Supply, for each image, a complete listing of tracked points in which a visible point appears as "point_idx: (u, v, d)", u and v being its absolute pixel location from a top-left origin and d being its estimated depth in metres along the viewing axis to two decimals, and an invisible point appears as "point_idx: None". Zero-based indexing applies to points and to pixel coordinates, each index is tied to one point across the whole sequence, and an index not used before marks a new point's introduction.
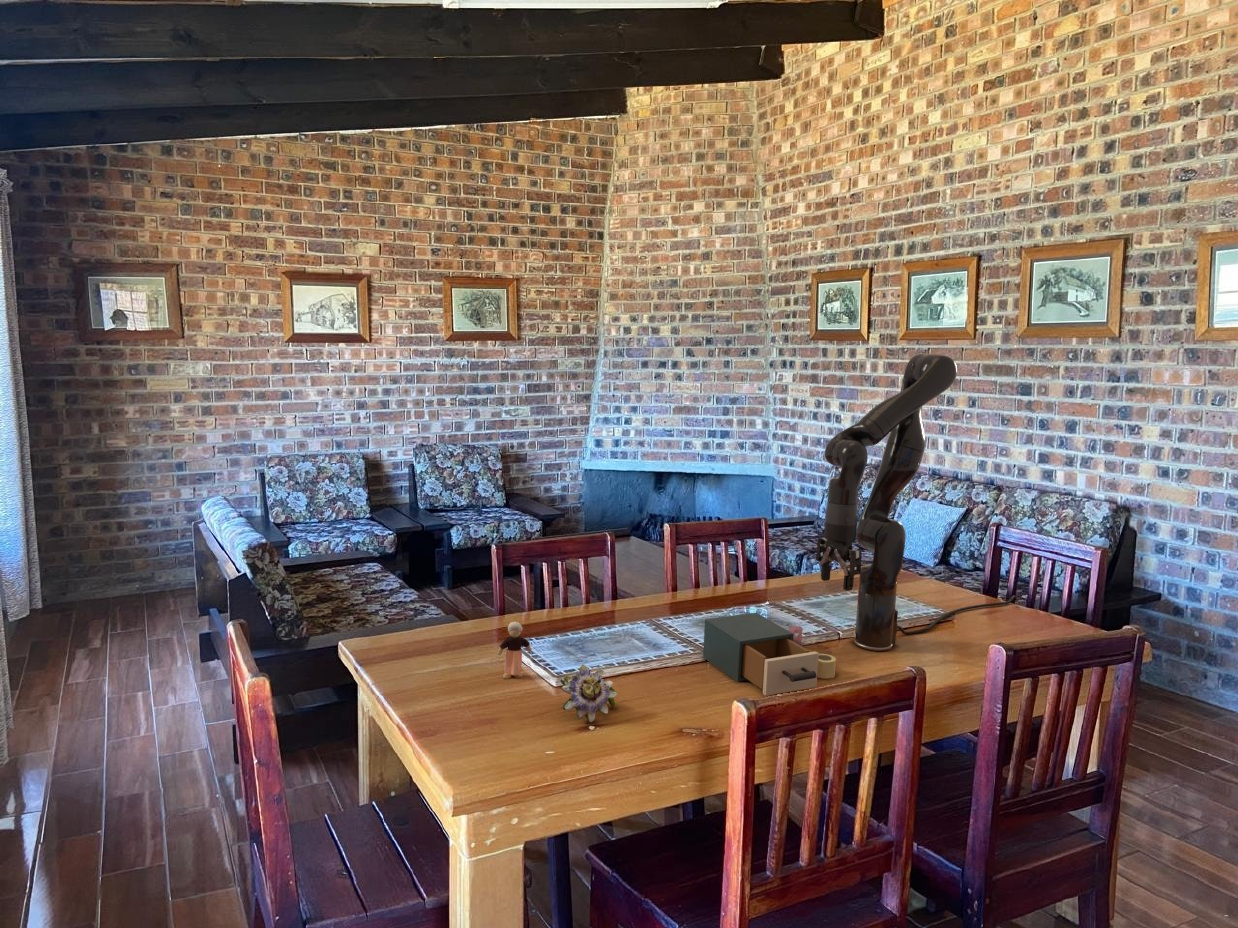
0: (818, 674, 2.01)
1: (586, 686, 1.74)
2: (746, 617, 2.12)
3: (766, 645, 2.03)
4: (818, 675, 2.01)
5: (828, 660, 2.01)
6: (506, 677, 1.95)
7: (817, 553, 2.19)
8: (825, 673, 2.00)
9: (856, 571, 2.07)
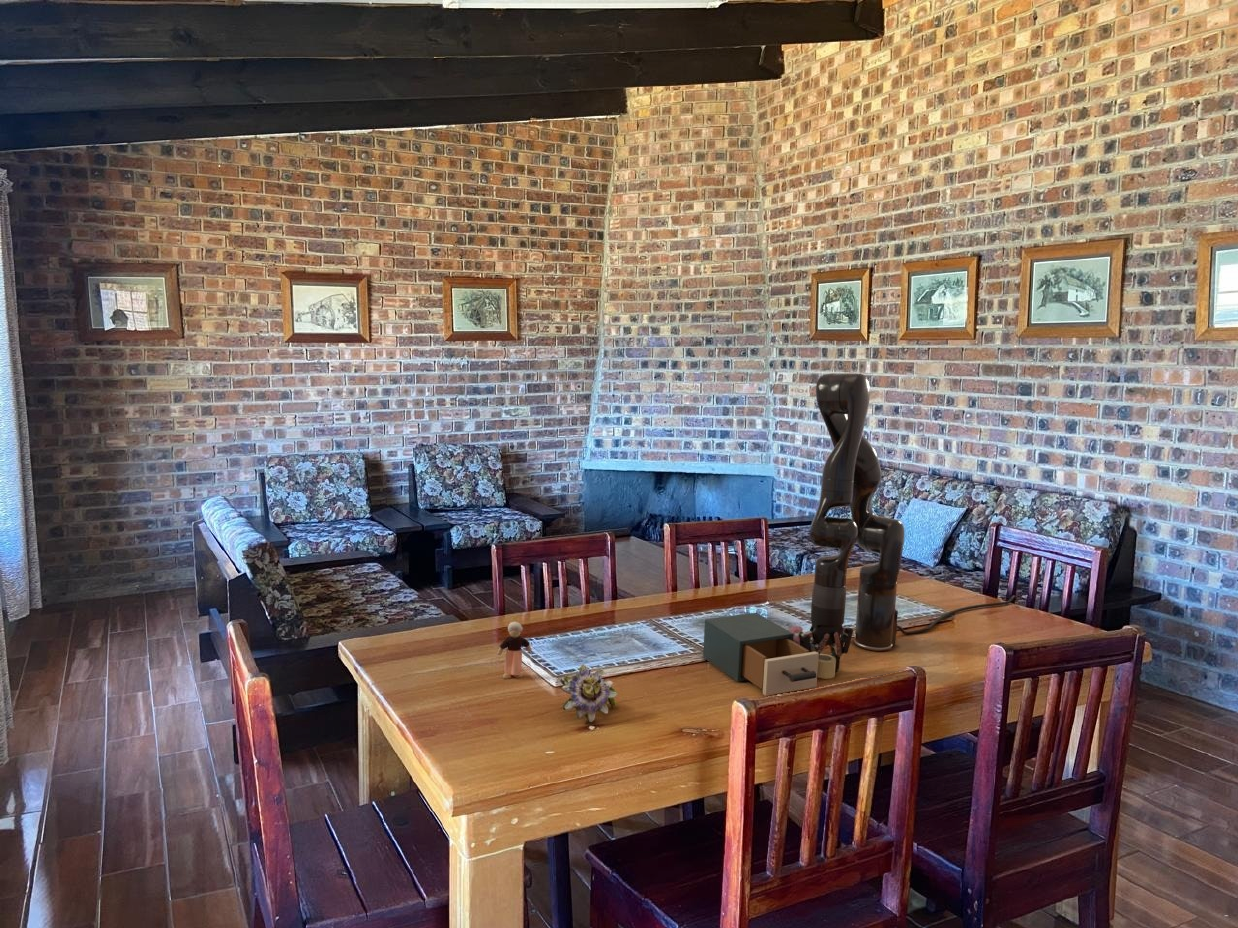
0: (818, 674, 2.01)
1: (586, 686, 1.74)
2: (746, 617, 2.12)
3: (766, 645, 2.03)
4: (818, 675, 2.01)
5: (828, 660, 2.01)
6: (506, 677, 1.95)
7: None
8: (825, 673, 2.00)
9: None
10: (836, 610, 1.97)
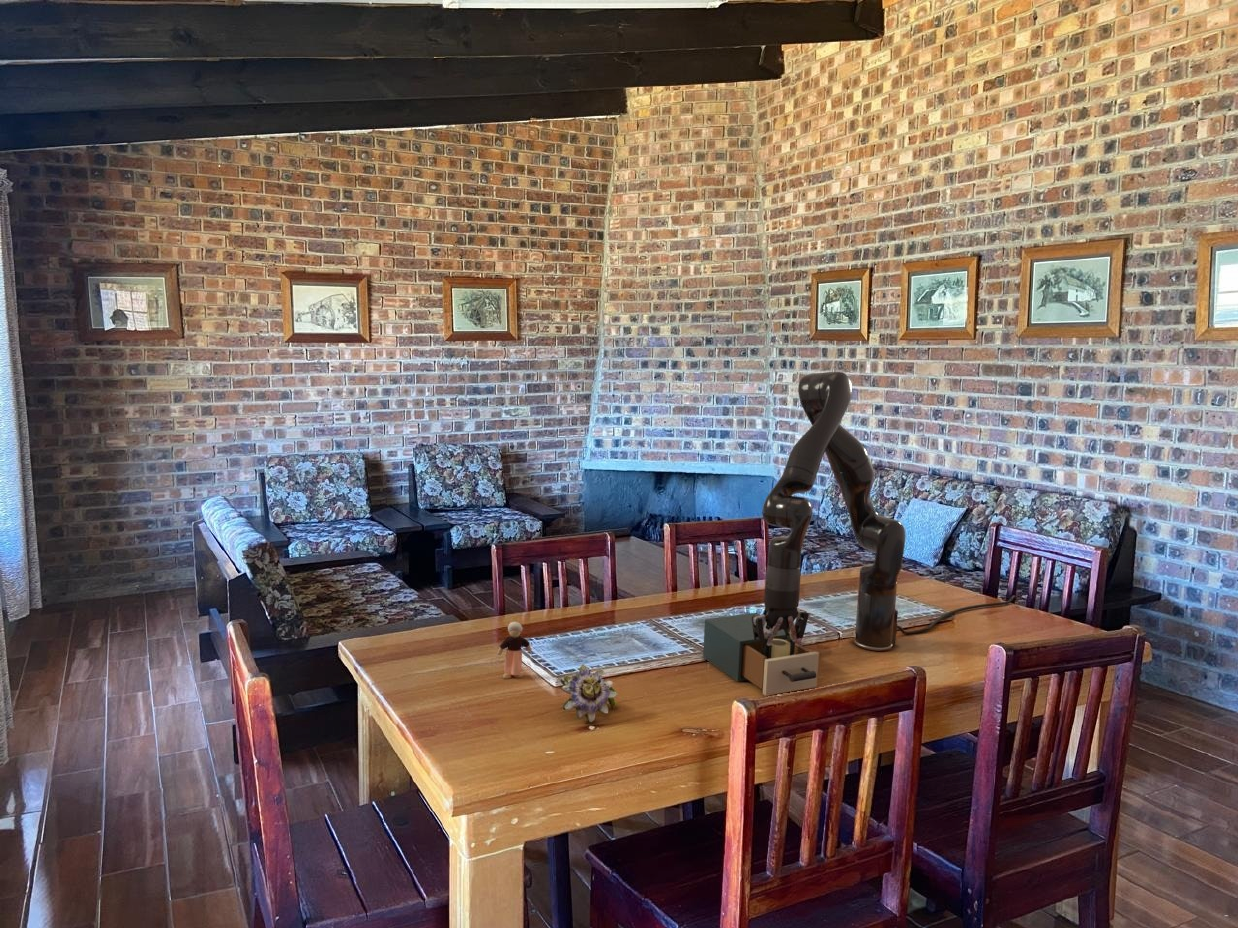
0: None
1: (586, 686, 1.74)
2: (746, 617, 2.12)
3: None
4: None
5: (782, 645, 1.93)
6: (506, 677, 1.95)
7: None
8: None
9: (757, 637, 1.92)
10: (790, 592, 1.89)
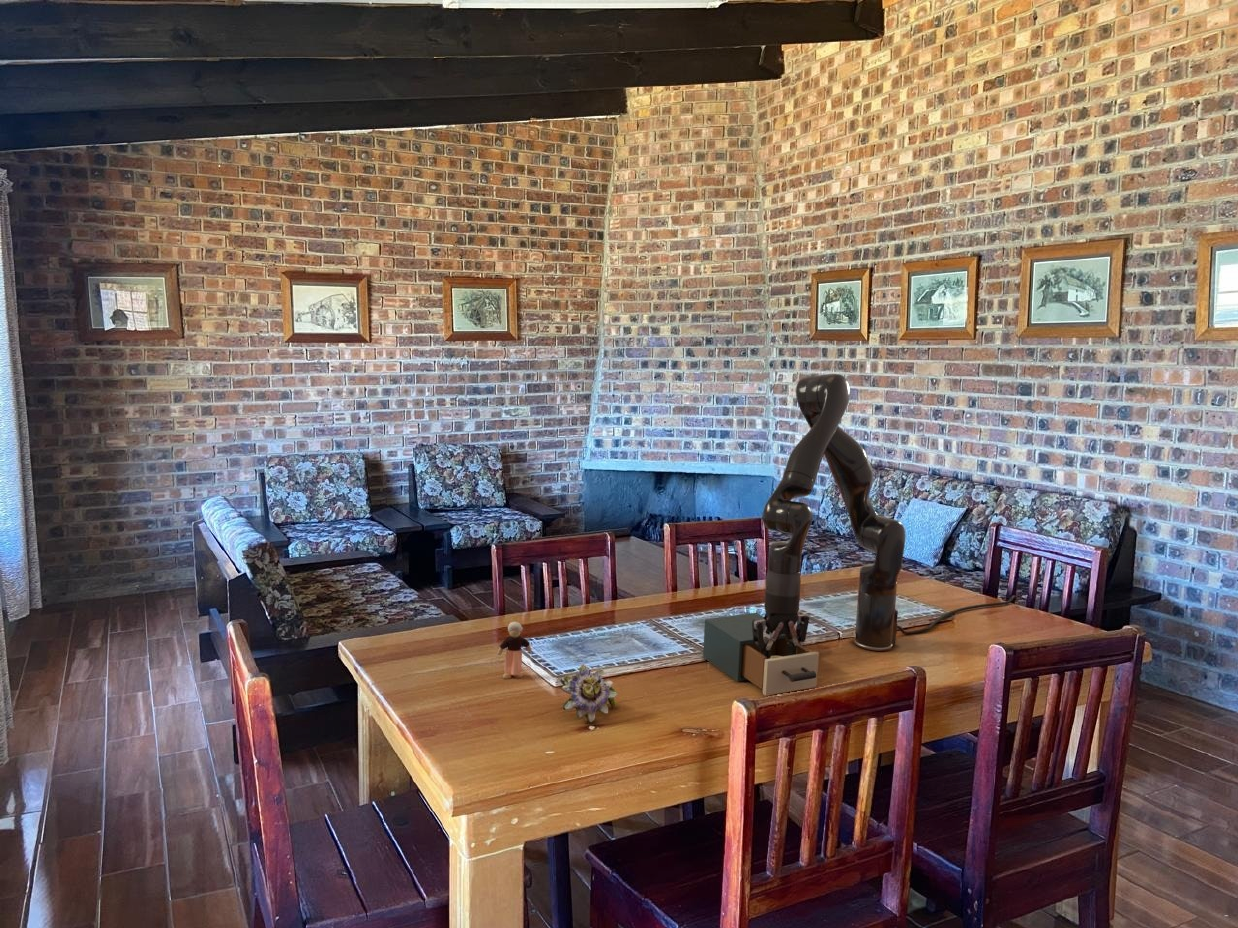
0: None
1: (586, 686, 1.74)
2: (746, 617, 2.12)
3: None
4: None
5: None
6: (506, 677, 1.95)
7: None
8: None
9: (756, 642, 1.92)
10: (790, 597, 1.89)
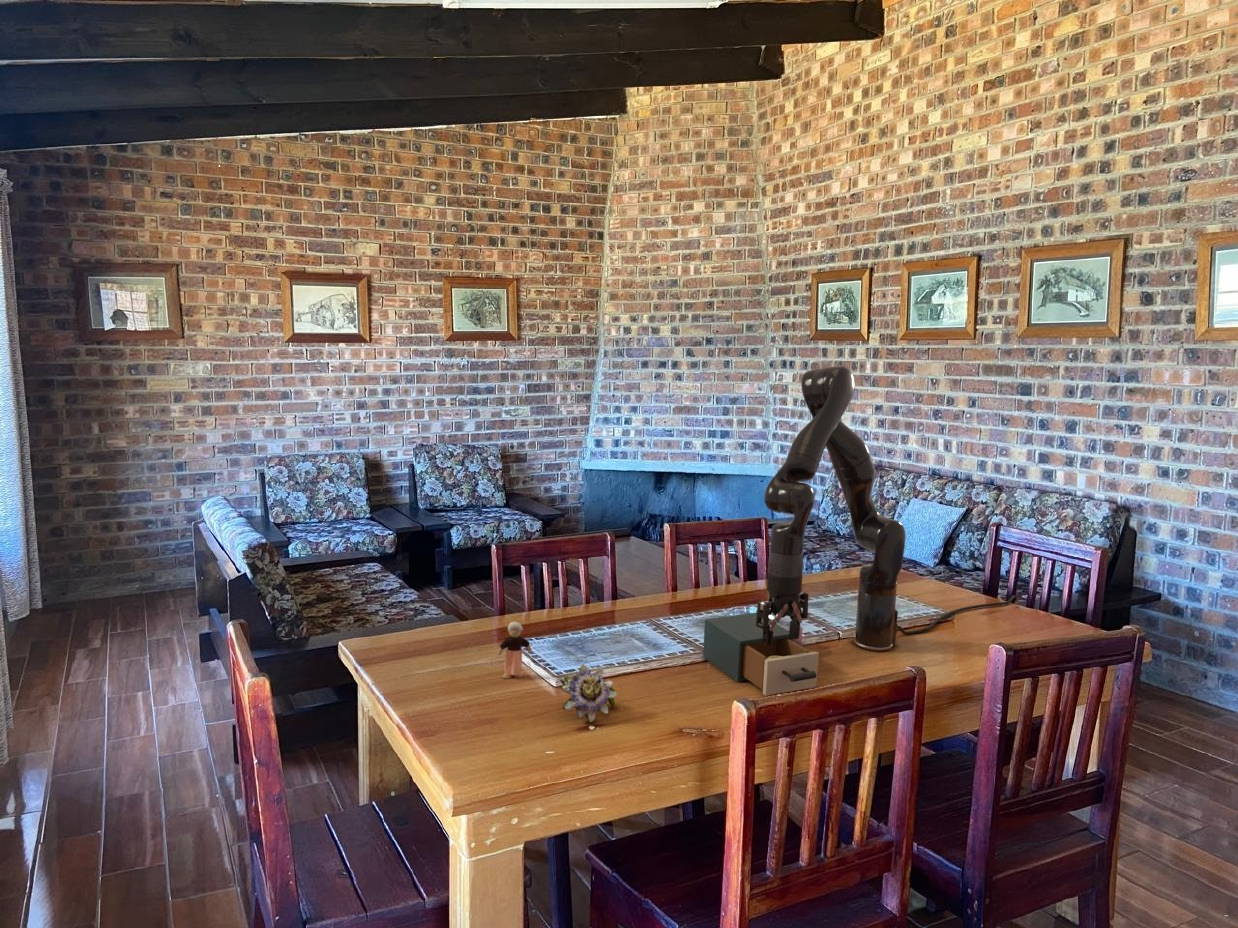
0: None
1: (586, 686, 1.74)
2: (746, 617, 2.12)
3: None
4: None
5: None
6: (506, 677, 1.95)
7: None
8: None
9: (760, 624, 1.89)
10: (796, 578, 1.88)
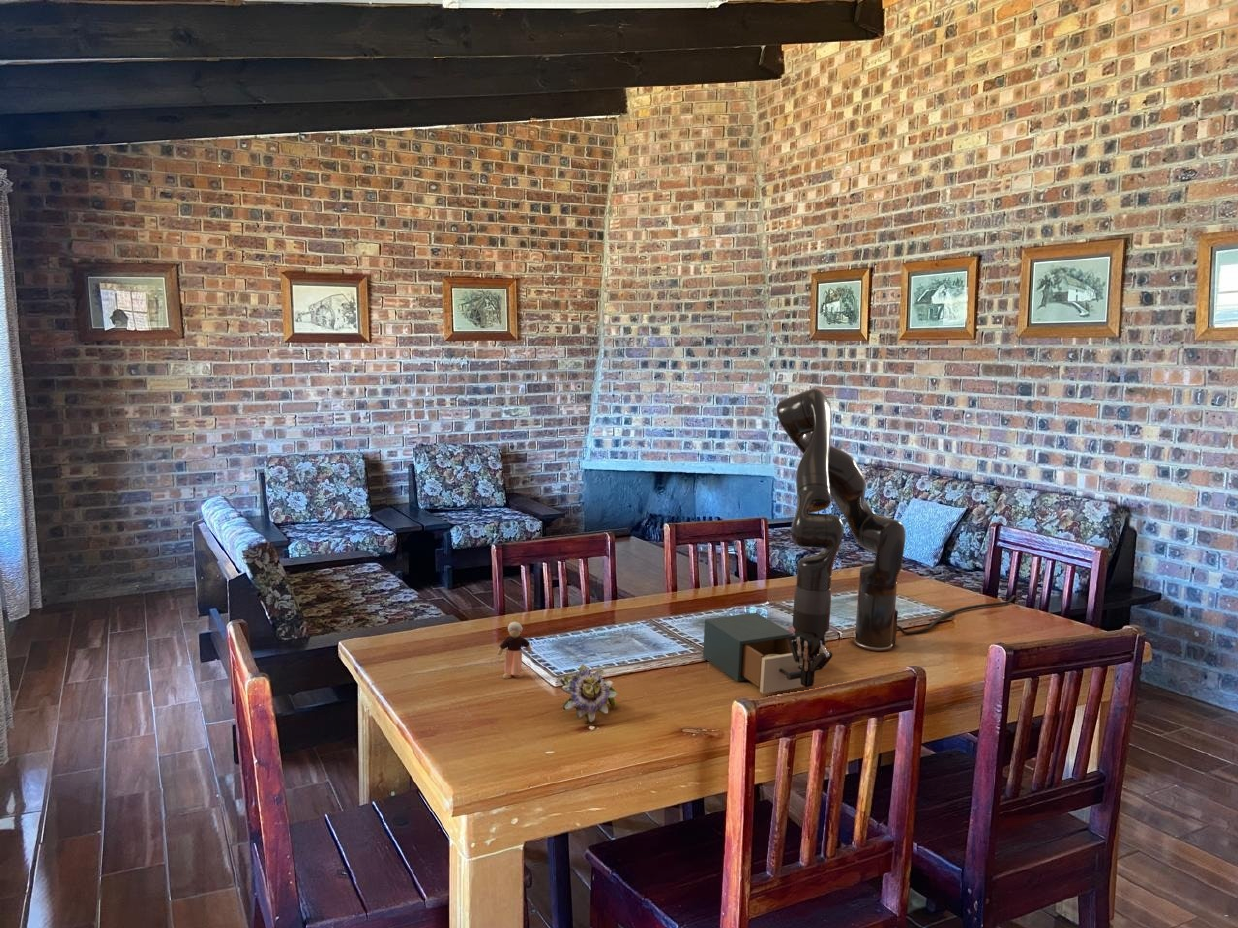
0: None
1: (586, 686, 1.74)
2: (746, 617, 2.12)
3: (764, 644, 2.04)
4: None
5: None
6: (506, 677, 1.95)
7: (793, 653, 1.88)
8: None
9: (817, 666, 1.82)
10: None
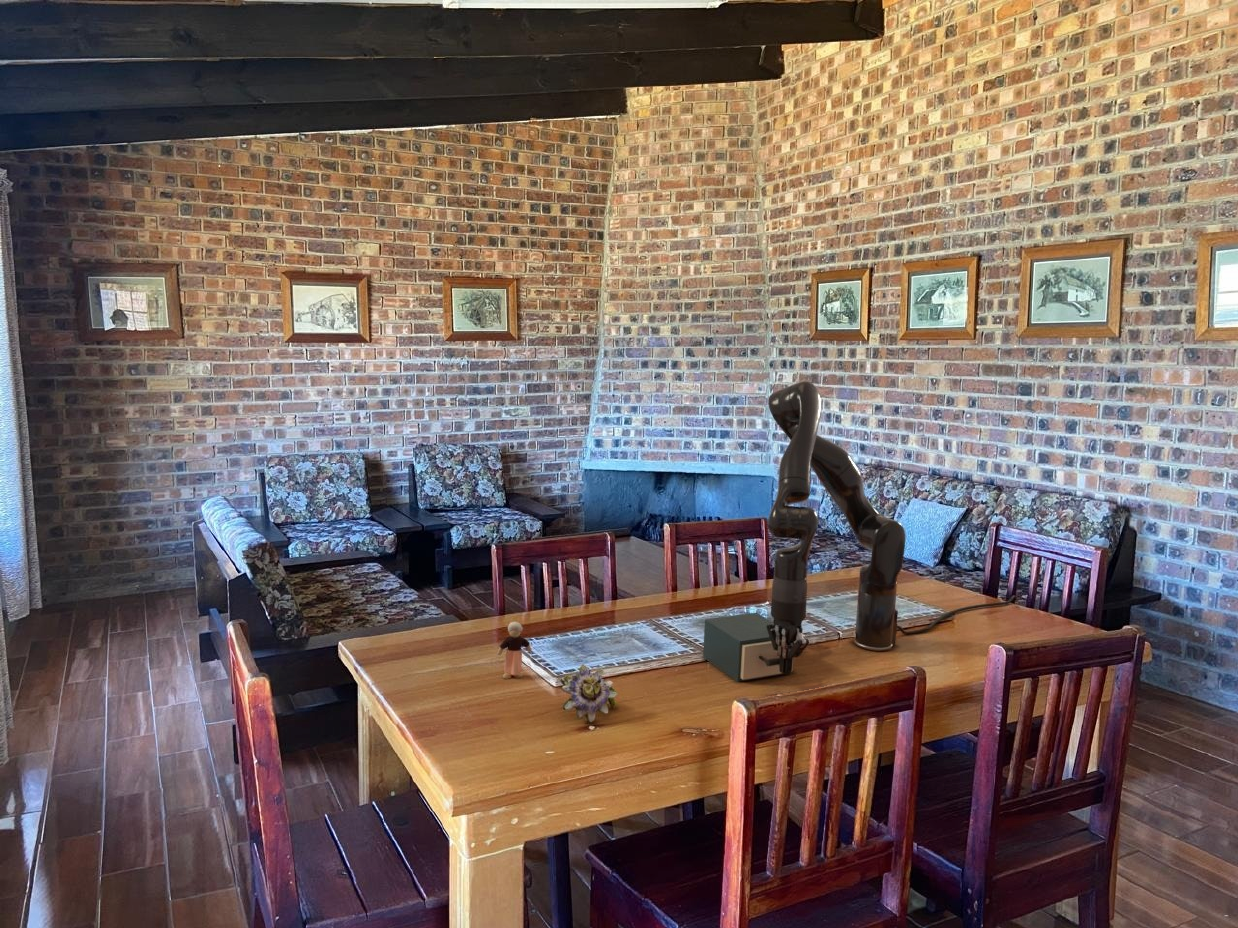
0: None
1: (586, 686, 1.74)
2: (746, 617, 2.12)
3: None
4: None
5: None
6: (506, 677, 1.95)
7: (772, 642, 1.95)
8: None
9: (794, 653, 1.89)
10: None
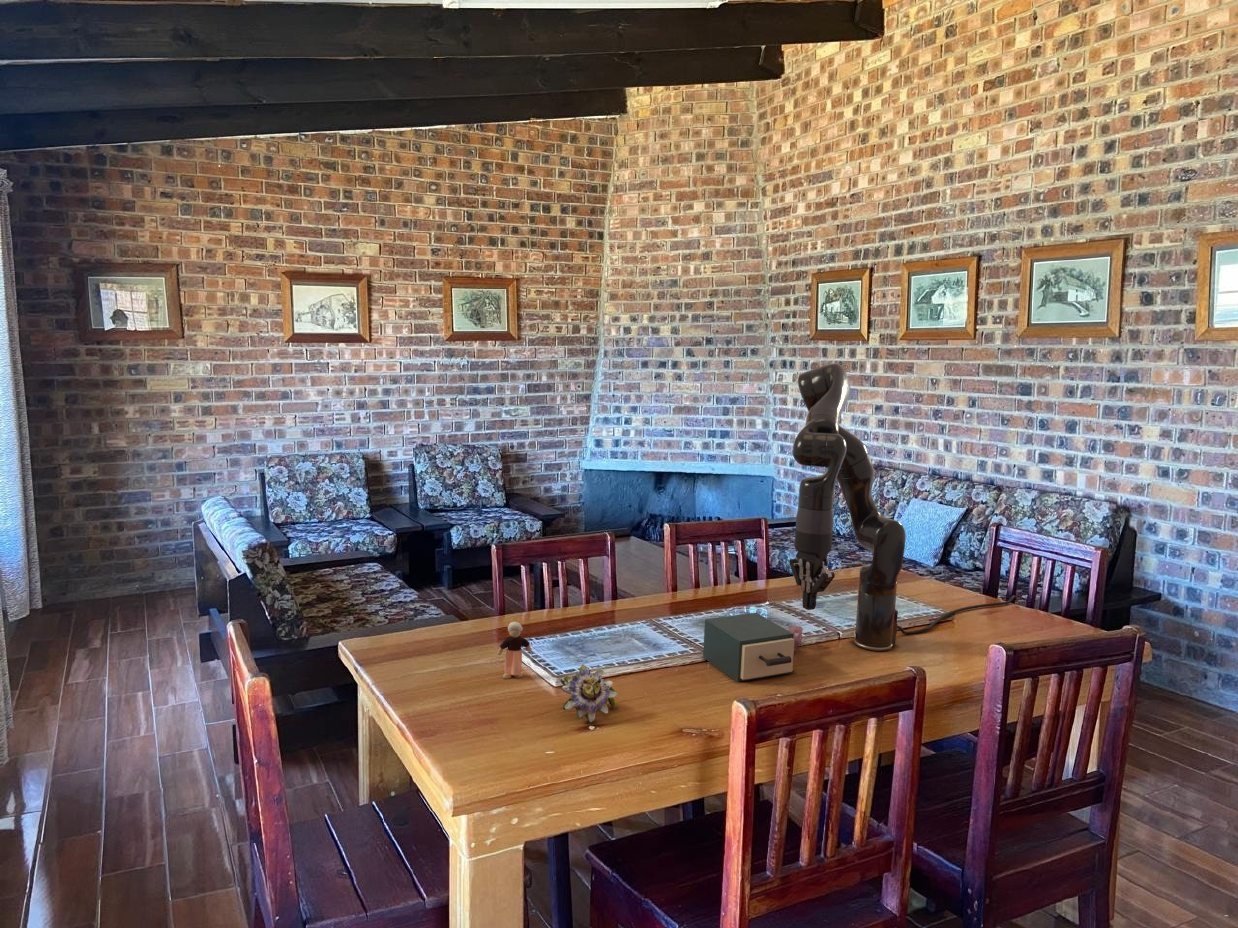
0: None
1: (586, 686, 1.74)
2: (746, 617, 2.12)
3: None
4: None
5: None
6: (506, 677, 1.95)
7: (795, 576, 1.86)
8: None
9: (819, 588, 1.80)
10: None
